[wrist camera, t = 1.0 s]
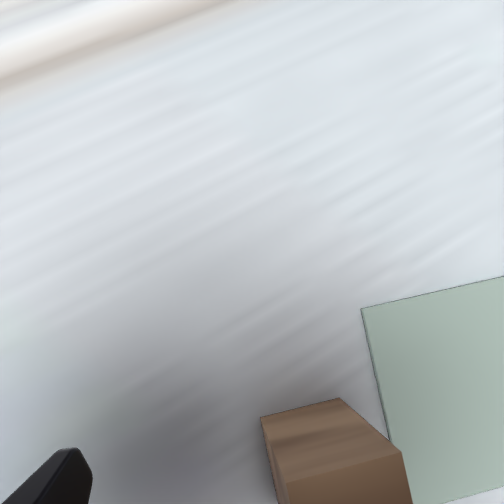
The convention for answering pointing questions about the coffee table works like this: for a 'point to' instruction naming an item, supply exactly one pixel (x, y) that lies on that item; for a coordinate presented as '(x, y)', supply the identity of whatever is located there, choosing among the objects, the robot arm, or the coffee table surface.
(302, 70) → the coffee table surface
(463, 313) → the pale green flat panel
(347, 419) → the walnut block
